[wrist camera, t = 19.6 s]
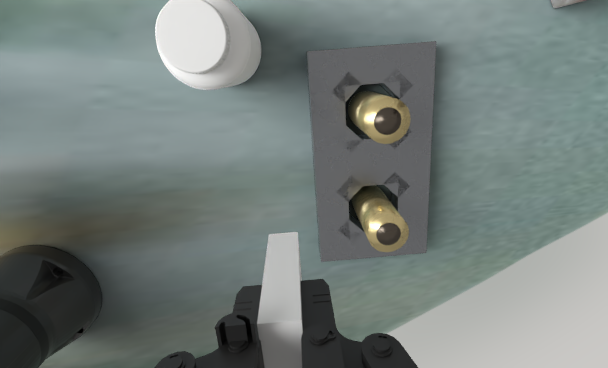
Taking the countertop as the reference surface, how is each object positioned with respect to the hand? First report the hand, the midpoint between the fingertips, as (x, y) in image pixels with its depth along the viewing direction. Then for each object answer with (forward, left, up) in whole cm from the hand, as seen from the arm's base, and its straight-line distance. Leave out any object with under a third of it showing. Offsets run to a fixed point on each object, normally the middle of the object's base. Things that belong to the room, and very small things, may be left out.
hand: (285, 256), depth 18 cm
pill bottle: (-6, +12, -27) cm, 30 cm away
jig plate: (+10, -2, -26) cm, 28 cm away
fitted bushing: (+10, -8, -26) cm, 29 cm away
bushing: (+10, +4, -26) cm, 28 cm away
